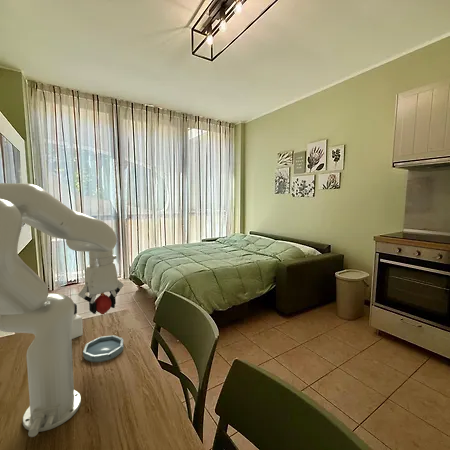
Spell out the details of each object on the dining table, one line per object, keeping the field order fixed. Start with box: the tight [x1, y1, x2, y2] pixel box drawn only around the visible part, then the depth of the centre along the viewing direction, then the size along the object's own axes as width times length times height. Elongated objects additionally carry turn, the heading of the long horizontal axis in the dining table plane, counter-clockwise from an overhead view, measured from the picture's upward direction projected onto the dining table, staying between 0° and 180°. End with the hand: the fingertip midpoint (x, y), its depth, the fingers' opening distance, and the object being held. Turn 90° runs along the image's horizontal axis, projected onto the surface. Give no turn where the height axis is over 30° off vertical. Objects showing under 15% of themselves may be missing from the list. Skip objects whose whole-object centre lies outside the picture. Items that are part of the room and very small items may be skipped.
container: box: [71, 303, 84, 340], centre depth 102 cm, size 8×8×13 cm
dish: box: [82, 334, 125, 363], centre depth 93 cm, size 13×13×2 cm
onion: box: [95, 293, 112, 315], centre depth 91 cm, size 6×6×8 cm
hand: (102, 309), depth 92 cm, fingers closed on onion, 5 cm apart
